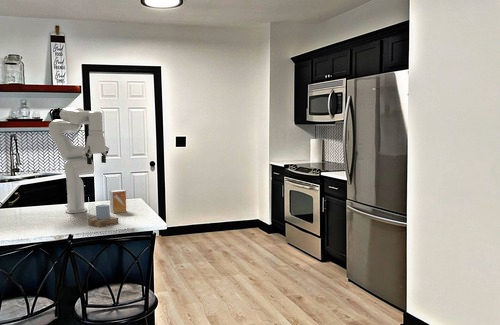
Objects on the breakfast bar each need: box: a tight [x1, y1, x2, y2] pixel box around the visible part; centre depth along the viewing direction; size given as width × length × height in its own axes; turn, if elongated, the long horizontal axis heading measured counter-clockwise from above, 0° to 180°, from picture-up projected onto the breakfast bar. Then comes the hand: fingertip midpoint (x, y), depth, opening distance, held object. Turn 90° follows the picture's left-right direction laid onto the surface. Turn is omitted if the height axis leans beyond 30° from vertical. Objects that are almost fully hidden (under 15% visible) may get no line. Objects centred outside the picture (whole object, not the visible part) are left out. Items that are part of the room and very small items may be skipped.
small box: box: [109, 189, 127, 214], centre depth 280 cm, size 8×6×13 cm
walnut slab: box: [87, 216, 119, 228], centre depth 248 cm, size 11×11×3 cm
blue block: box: [95, 204, 111, 220], centre depth 248 cm, size 5×5×7 cm
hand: (96, 163), depth 263 cm, fingers open, 9 cm apart
